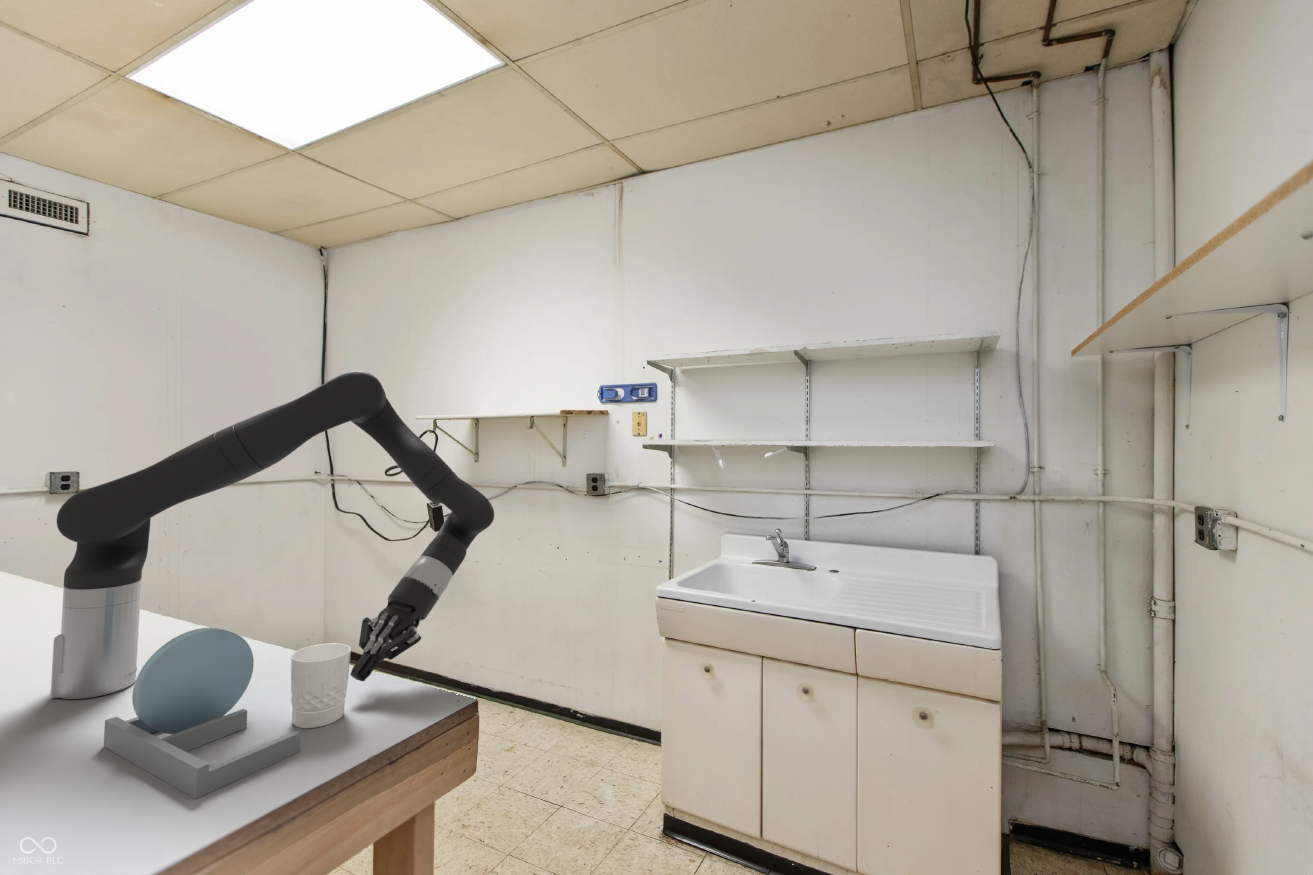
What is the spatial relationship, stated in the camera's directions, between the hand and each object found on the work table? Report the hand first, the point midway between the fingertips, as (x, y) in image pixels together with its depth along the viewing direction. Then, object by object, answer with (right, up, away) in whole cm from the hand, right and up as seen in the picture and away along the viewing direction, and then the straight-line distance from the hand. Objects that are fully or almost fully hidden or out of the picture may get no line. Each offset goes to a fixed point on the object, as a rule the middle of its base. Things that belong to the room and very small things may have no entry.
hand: (356, 678), depth 92 cm
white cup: (-3, -4, -6) cm, 7 cm away
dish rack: (-12, -3, -14) cm, 19 cm away
